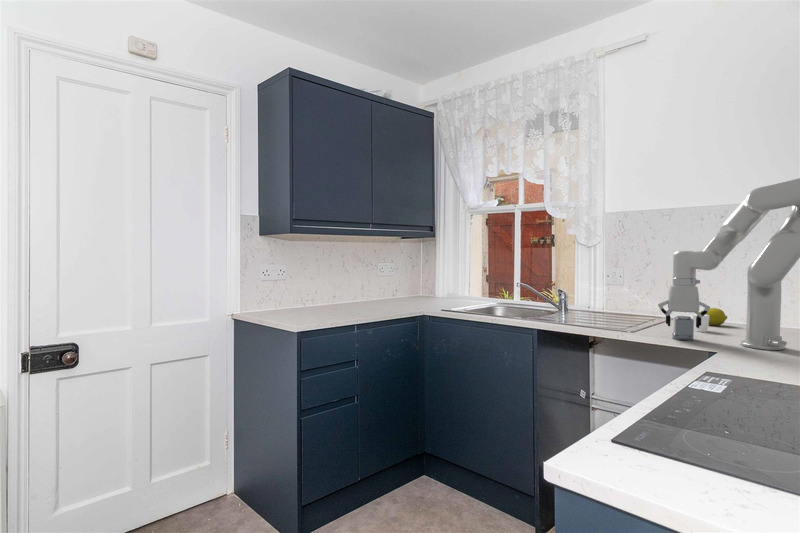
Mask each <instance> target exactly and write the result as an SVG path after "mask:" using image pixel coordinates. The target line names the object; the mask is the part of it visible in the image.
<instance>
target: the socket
mask: <svg viewBox="0 0 800 533" xmlns="http://www.w3.org/2000/svg"><path fill="white" fill-rule="evenodd" d="M673 327H674V330H673V331H672V333H674V334H675V335H687V336H693V335H694V332H695V331H694V320H693V319H692V318H691V316H689V315H676V316H673Z"/></svg>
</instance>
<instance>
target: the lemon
mask: <svg viewBox="0 0 800 533" xmlns="http://www.w3.org/2000/svg"><path fill="white" fill-rule="evenodd" d="M702 311H704V309H703V310H701V311H699V312H700V313H701V312H702ZM706 315H709V323H708V326H714V327H715V326H716V327H717V326H721V325H723V324H724V323H725V322H726V320H727V319H728V316H727V315H726V313H725V311H723V310H722V309H720V308H716V307H710V309H709V311H708V312H707V314H706Z"/></svg>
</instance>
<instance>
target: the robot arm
mask: <svg viewBox="0 0 800 533" xmlns="http://www.w3.org/2000/svg"><path fill="white" fill-rule="evenodd" d="M788 207H791V211H790V213H789V214H788V216H787V218H785V220H784V222H783V223H782V225H781V226H780V227H779V228H778V230H777V231H776V232H775V233H774V234H773V235H772V236H771V238H770V239H769V240H768V243H767V245H765V247H764V249H763V250H762V251H761V253H760V254H759V255H758V256H757V258H756V259H755V260H754V261H753V262H751V264H750V265H749V266H748V267H747V276H746V277H747V279H746V280H747V293H746V294H747V296H746V297H747V298H746V300H747V301H746V328H745V330H746V331H745V332H746V333H745V339H742V340H741V341H740V345H742V346H744V347H747V348H750V349H751V348H752V349H758V350H766V351H767V350H771V351H783V350H785V349H786V346H787V344H788V343H787V341H785V340H783V339H782V338H783V337H782V336H781V321H782V320H781V319H782V318H781V317H782V315H781V314H782V313H781V312H782V281H783V280H784V279H785V277H786V276H787V275H788V274H789V272H790V271H791V270H792V268H794V266H795V265H796V263H797V262H798V261H799V259H800V177H798V178H795V179H790V180H786V181H782V182H778V183H773V184H770V185H769V184H768V185H765V186H760V187H757V188H754V189H752V190H751V191H749V193H748V194H747V195H746V197H745V198H744V199H743V200H742V202H741V203H740V204H739V205H738V206H737V207H736V209H734V211H733V212H732V213H731V214H730V215H729V216H728V218H727V219H726V220H725V221H724V223H722V225H721V226H720V229H719V231H718V232H717V233H716V235H715V236H714V237H713V238H712V240H710V242H709V243H708V244H707V245H706V247H705V248H704V249H703V250H700V251H693V250H677V251H675V252H674V253H673V255H672V256H673V259H672V260H673V262H672V266H673V267H672V285H670V287H669V291H668V298H667V300H665V301H662V302H660V303H658V304H657V306H658V308H659V309H660V312H661V313H663V314H664V315H665V324H667V326H668V327H671V319H672V318H671V314H672V313H673V312H675V313H676V312H677V313H678V312H679V313H694V314H697V317H696V327H697V328H699V326H701V318H702V317H703V316H704V315H705V314H707V312H708V311H709V309H710V308H711V306H709V305H708V304H706V303H703V302H702V301H700V293H699V288H698V287H699V286H696V285H698V284H701V280H700V279H697V277H696V276H697V272H696V271H697V270H702V271H712V270H716V269H717V268H718V267H719V265H720V264H721V263H722V262H723V261H724V260H725V258H726V257H727V256H728V255H729V254H730V253H731V252H733V250H734V249H735V247H736V246H737V245H738V244H739V243H741V242H742V241H744V240H745V239H746V238H747V237H748V235H749V234H750V233H751V232H752V231H753V230H754V228H756V226H758V224H759V223H760V222H761V221H762V219H764V218H765V216H766V215H767V214H768V213H769V212H770V211H773V210H778V209H784V208H788ZM666 305H667V307H668V310H666V309H664V306H666ZM700 306H701V307H702V308H704V309H703V310H704V311H703V310H701V311H702V312H701V311H700ZM700 312H701V313H700Z"/></svg>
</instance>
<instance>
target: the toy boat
mask: <svg viewBox="0 0 800 533" xmlns="http://www.w3.org/2000/svg"><path fill="white" fill-rule="evenodd" d="M672 328H673V330H674V326H673V327H672ZM671 338H672V339H673V340H675V341H676V340H677V341H681V342H683V341H685V342H690V341H689V340H693V341H694V338H695V336H694V334H693V336H687V335H675V334H674V332H672V336H671Z"/></svg>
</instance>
